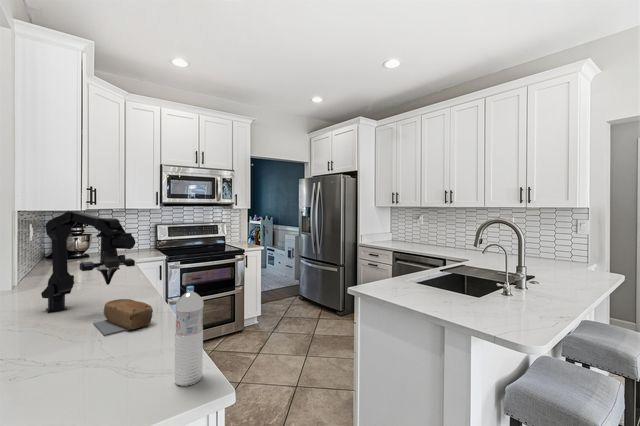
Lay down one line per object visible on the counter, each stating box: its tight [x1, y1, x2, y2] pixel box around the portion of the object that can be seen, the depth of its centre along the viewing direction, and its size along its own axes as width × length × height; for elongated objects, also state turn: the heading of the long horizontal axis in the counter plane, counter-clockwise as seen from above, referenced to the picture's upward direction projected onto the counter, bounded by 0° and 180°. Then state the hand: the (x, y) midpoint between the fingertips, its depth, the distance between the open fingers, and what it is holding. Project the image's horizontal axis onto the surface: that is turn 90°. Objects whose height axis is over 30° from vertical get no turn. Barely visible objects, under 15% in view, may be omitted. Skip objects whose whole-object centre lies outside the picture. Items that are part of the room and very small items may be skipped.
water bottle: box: [174, 285, 205, 387], centre depth 81 cm, size 7×7×25 cm
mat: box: [92, 319, 149, 337], centre depth 117 cm, size 16×14×1 cm
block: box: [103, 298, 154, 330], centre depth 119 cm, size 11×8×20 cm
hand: (107, 284), depth 129 cm, fingers closed
